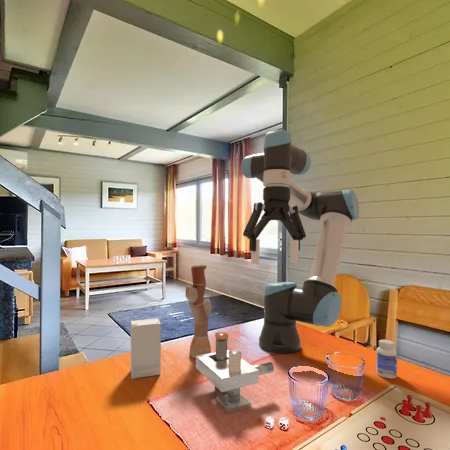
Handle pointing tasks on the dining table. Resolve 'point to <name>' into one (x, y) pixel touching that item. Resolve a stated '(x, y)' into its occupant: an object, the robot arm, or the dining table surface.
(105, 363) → the dining table surface
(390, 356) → the pill bottle
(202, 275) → the tan tall irregular piece
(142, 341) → the skincare box
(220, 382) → the square pedestal tray
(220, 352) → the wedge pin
